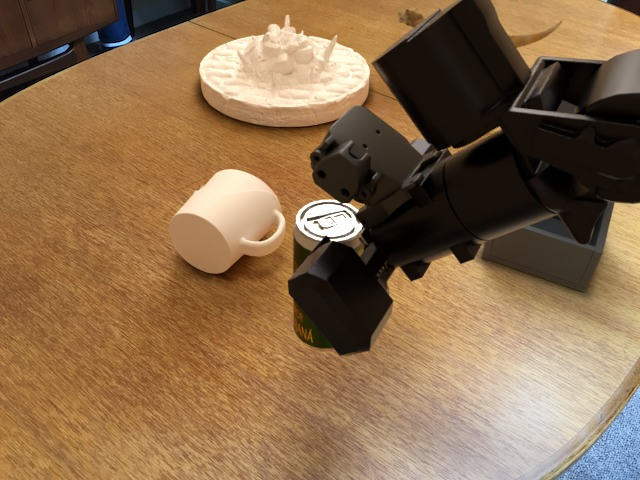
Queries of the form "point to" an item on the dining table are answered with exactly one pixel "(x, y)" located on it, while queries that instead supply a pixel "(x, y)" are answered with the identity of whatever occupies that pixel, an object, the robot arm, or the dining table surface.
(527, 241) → the grey open square box
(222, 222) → the mug
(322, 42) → the cake
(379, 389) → the dining table surface
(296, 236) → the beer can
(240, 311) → the dining table surface
